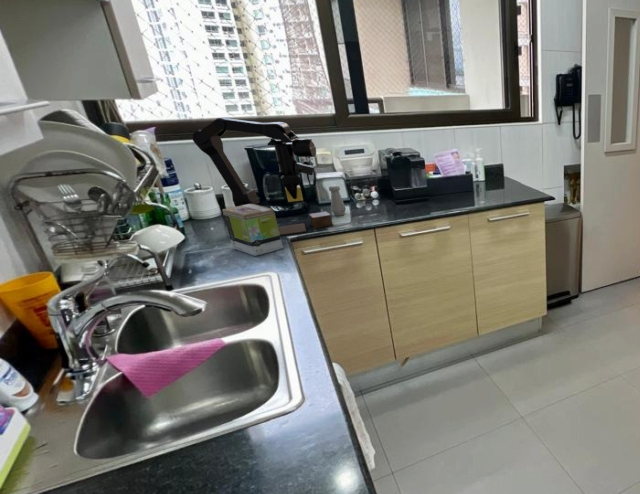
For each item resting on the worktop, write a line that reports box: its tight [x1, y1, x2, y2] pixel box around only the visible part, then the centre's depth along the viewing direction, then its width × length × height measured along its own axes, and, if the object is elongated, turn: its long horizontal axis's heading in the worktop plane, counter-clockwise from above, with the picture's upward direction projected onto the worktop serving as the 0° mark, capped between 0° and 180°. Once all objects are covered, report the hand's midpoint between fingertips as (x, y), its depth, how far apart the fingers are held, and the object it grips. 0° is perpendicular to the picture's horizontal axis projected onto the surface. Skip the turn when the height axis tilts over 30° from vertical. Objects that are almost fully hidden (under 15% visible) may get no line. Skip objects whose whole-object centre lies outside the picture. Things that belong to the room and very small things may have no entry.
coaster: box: [278, 222, 307, 237], centre depth 185 cm, size 12×12×1 cm
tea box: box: [221, 204, 284, 257], centre depth 163 cm, size 15×10×15 cm, turn 59°
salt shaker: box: [328, 184, 347, 217], centre depth 203 cm, size 6×6×13 cm
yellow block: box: [284, 184, 304, 203], centre depth 182 cm, size 5×5×5 cm
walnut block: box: [308, 211, 333, 229], centre depth 191 cm, size 6×6×4 cm
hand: (294, 197), depth 183 cm, fingers closed on yellow block, 5 cm apart
